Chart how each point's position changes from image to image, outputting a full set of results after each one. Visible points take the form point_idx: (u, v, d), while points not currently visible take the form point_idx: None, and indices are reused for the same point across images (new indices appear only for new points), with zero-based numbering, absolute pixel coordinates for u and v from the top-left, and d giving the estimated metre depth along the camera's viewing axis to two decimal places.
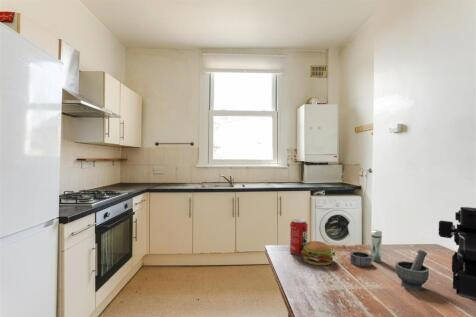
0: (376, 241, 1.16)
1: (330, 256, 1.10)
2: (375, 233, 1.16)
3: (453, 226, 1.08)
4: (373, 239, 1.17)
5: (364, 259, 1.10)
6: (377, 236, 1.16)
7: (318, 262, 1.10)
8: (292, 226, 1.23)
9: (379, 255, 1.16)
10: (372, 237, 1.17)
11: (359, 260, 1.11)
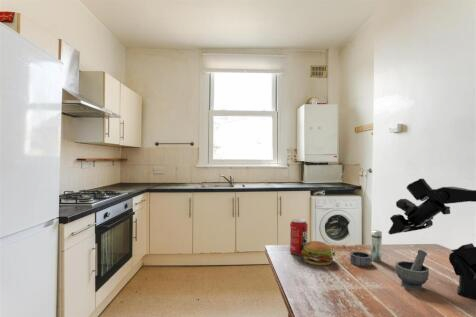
0: (376, 241, 1.16)
1: (330, 256, 1.10)
2: (375, 233, 1.16)
3: None
4: (373, 239, 1.17)
5: (364, 259, 1.10)
6: (377, 236, 1.16)
7: (318, 262, 1.10)
8: (292, 226, 1.23)
9: (379, 255, 1.16)
10: (372, 237, 1.17)
11: (359, 260, 1.11)
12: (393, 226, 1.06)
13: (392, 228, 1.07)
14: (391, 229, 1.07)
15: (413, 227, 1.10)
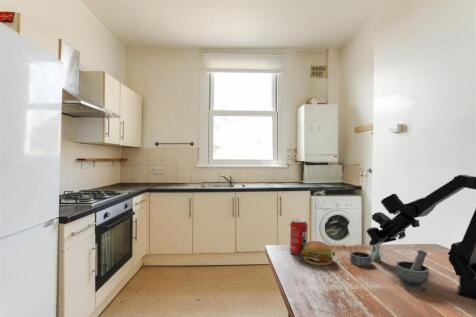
0: None
1: (330, 256, 1.10)
2: None
3: None
4: None
5: (364, 259, 1.10)
6: None
7: (318, 262, 1.10)
8: (292, 226, 1.23)
9: (379, 255, 1.16)
10: None
11: (359, 260, 1.11)
12: None
13: (372, 239, 1.16)
14: (371, 240, 1.16)
15: (385, 239, 1.17)
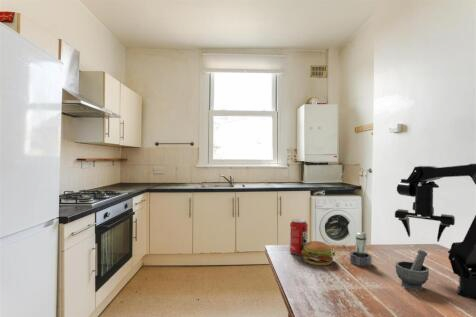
0: (361, 243, 1.12)
1: (330, 256, 1.10)
2: (361, 235, 1.13)
3: None
4: (359, 241, 1.13)
5: (364, 259, 1.10)
6: (363, 238, 1.12)
7: (318, 262, 1.10)
8: (292, 226, 1.23)
9: None
10: (357, 239, 1.13)
11: (359, 260, 1.11)
12: None
13: None
14: None
15: (438, 230, 1.02)
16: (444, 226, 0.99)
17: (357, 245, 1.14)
